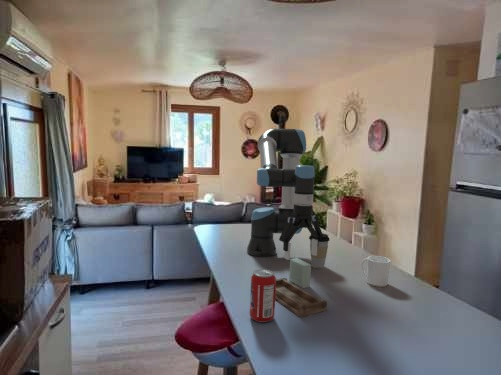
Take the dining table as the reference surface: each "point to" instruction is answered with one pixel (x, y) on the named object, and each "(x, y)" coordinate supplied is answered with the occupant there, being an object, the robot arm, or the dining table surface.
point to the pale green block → (300, 272)
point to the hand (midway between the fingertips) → (300, 257)
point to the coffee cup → (319, 252)
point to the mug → (377, 270)
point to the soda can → (262, 295)
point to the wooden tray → (297, 299)
